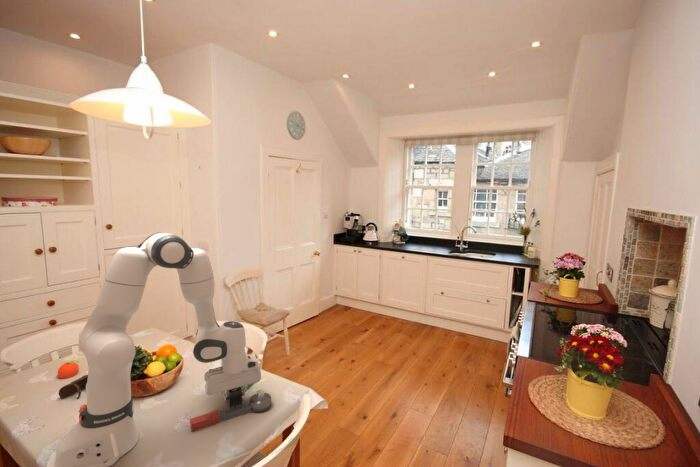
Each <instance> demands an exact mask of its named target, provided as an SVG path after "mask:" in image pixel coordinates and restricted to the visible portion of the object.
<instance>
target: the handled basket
mask: <svg viewBox="0 0 700 467" xmlns="http://www.w3.org/2000/svg"><path fill="white" fill-rule="evenodd" d="M87 380H88V374H85V375H83V376H81V377H79V378H77V379H75V380H73V381H71V382H70V383H68V384H65V385H63V386H62V387H61V388H59V391H58V396H59V398H60V399H61V400H64V399H66V398H68V397H70V396H72V395H74V393H76V392H77V393H78V394H77V395H78V396H77V397H76V399H78V398H80V397H81V395H82V391H81V390H82V389H84V388H86V384H87Z"/></svg>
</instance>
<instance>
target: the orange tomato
mask: <svg viewBox="0 0 700 467" xmlns="http://www.w3.org/2000/svg"><path fill="white" fill-rule="evenodd" d="M78 363H80V362H79V361H78V360H76V361H75V360H70V361H67V362H64V363H63V364H62V365H60V367H59V368H58V370H57V376H58V377H59V378H60V379H64V380H65V379H69V378H72V377H74V376H77V374H78V373H79V370H80V366H79V364H78Z"/></svg>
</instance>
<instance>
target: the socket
mask: <svg viewBox="0 0 700 467" xmlns="http://www.w3.org/2000/svg"><path fill="white" fill-rule="evenodd" d="M226 394H228V396H229V398H228V399H229V400H228V401H226V403H227V406H228V407H229V408H232V407H235V406H239V405H242V404H243V396H242V389H241V387H238V388H234V389H231V390H227V391H226ZM229 408H228V409H229Z"/></svg>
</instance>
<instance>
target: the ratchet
mask: <svg viewBox="0 0 700 467" xmlns="http://www.w3.org/2000/svg"><path fill="white" fill-rule="evenodd" d="M248 401H249V402H246V403H242V405H238V406H235V407H232V408H226V409H223V410H220V411H218V409H217V410H214V411H210V412H208V413H204V414H200V415H198V416H194V417H191V418H189V424H190V432H195V431H199V430H201V429H205V428H207V427H210V426H213V425H216V424H219V423H220V422H223V421H227V420H229V419H233V418H235V417H238V416H241V415H245V414H248V413H250V412H251V413H254V414H261V413H262V414H263V413H265V412H268V411H269V410H270V408H271V407H272V396H271V394H270V393H267V392H264V390H263V389H262V388H261V389H258V390H256V393H255V394H253V395H252V396H250V398H249V400H248Z"/></svg>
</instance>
